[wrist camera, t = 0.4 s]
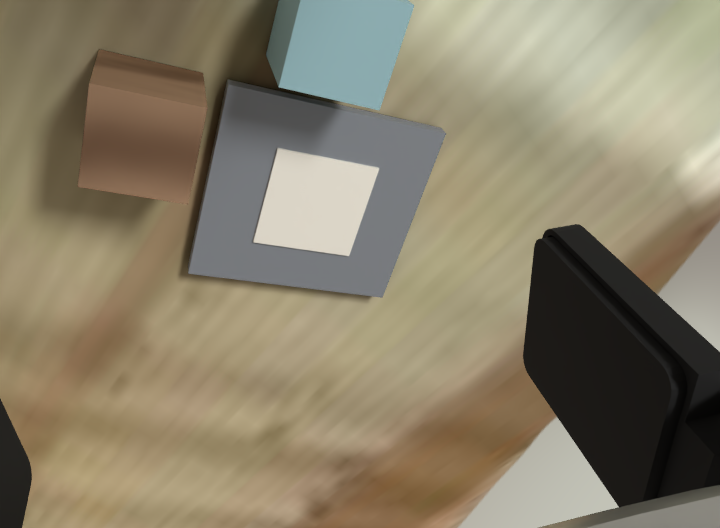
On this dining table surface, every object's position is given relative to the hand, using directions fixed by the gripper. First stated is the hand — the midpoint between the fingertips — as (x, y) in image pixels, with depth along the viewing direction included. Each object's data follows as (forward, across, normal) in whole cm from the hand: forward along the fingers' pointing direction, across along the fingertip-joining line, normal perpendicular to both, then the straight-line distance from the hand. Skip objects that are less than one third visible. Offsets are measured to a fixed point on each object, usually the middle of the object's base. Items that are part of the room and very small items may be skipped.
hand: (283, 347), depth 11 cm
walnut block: (+33, +4, +6) cm, 34 cm away
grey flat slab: (+33, -5, +14) cm, 37 cm away
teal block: (+33, -7, +2) cm, 34 cm away
